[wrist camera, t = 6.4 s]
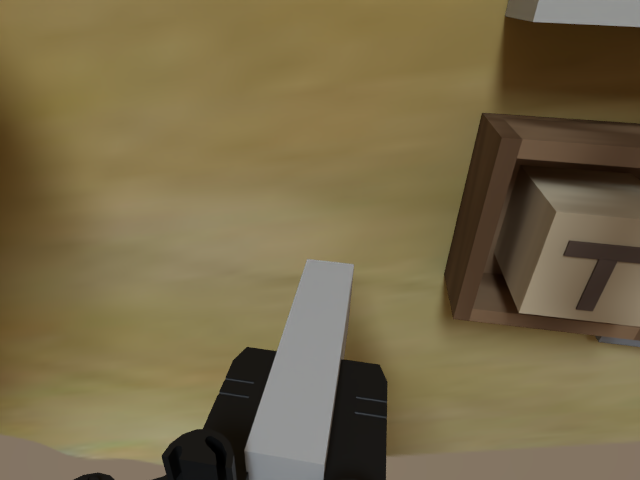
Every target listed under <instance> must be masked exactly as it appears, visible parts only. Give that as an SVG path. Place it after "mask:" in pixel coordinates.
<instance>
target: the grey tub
mask: <svg viewBox="0 0 640 480" xmlns="http://www.w3.org/2000/svg"><path fill="white" fill-rule="evenodd" d="M505 16H507V17H511V18H516V19H521V20H526V21H531V22H545V23H566V24H587V25H608V26H630V27H640V0H509V2H508V6H507V10H506V14H505Z"/></svg>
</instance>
